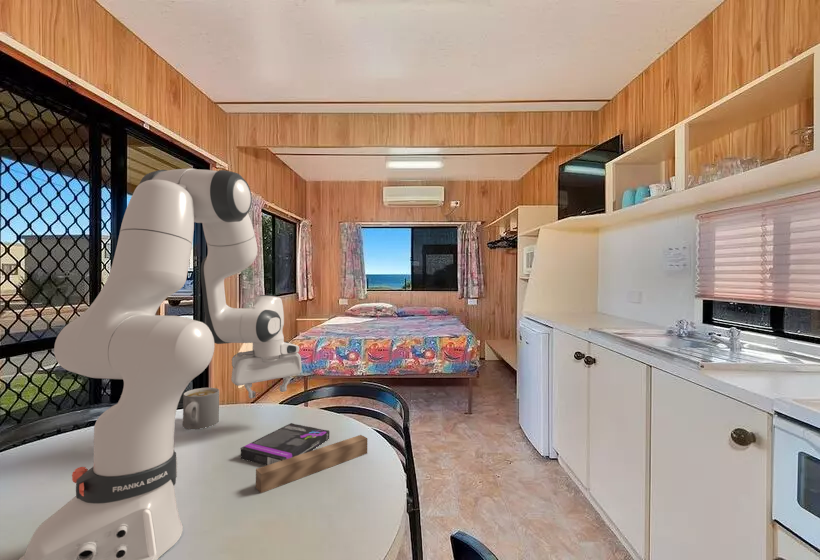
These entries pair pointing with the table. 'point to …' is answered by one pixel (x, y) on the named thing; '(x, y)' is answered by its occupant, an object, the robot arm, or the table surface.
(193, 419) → the coffee mug
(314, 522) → the table surface
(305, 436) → the box
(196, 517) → the table surface
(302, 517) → the table surface
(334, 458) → the walnut board
